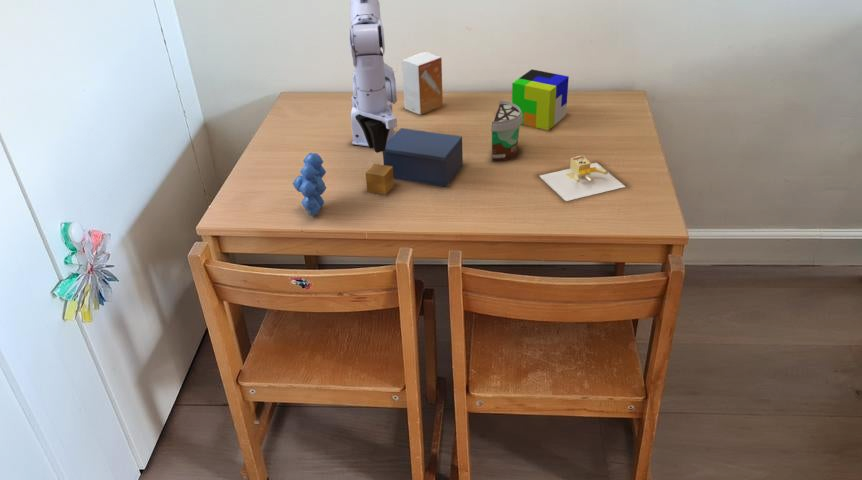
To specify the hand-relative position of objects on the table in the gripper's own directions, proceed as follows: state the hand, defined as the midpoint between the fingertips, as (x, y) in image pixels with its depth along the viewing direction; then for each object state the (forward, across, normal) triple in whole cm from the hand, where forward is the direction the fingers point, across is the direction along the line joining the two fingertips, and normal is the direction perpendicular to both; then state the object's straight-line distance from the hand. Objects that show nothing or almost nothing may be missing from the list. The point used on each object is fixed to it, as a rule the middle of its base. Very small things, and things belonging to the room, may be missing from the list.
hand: (377, 148), depth 158 cm
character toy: (+10, -24, -36) cm, 44 cm away
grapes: (+10, +1, +16) cm, 18 cm away
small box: (+10, +30, -31) cm, 44 cm away
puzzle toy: (+10, +6, -49) cm, 51 cm away
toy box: (+9, +1, -12) cm, 15 cm away
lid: (+3, 0, -11) cm, 12 cm away
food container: (+10, -4, -32) cm, 34 cm away
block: (+9, 0, 0) cm, 9 cm away
